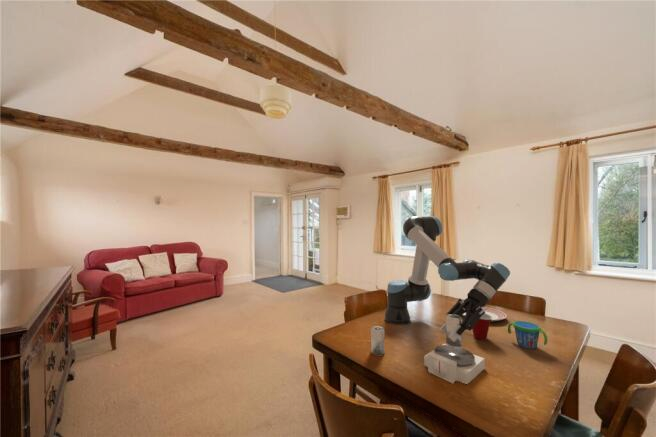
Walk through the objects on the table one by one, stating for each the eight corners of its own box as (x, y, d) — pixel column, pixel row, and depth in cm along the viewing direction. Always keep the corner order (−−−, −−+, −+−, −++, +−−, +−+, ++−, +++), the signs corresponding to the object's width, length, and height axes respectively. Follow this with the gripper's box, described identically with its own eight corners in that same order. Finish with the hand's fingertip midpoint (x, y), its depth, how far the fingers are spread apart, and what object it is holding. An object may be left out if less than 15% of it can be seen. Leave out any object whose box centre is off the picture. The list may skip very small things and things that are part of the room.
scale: (419, 368, 107) (419, 351, 107) (444, 352, 120) (443, 337, 120) (462, 388, 94) (462, 369, 94) (484, 368, 107) (484, 351, 107)
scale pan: (427, 354, 109) (427, 352, 109) (445, 343, 119) (445, 341, 119) (464, 370, 98) (464, 367, 98) (480, 357, 107) (480, 354, 107)
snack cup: (503, 341, 131) (503, 321, 131) (515, 337, 135) (515, 317, 135) (539, 355, 117) (539, 333, 117) (552, 350, 121) (551, 328, 121)
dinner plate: (446, 312, 172) (446, 307, 172) (475, 307, 183) (475, 302, 183) (486, 328, 147) (486, 322, 147) (517, 320, 158) (516, 315, 158)
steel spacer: (368, 352, 121) (368, 328, 121) (377, 348, 125) (376, 324, 125) (378, 357, 116) (378, 332, 116) (387, 352, 120) (386, 328, 120)
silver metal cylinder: (443, 343, 108) (442, 316, 109) (450, 338, 112) (449, 312, 112) (458, 348, 104) (457, 320, 104) (464, 343, 108) (464, 316, 108)
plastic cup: (496, 343, 129) (496, 318, 129) (472, 341, 131) (472, 317, 131) (487, 333, 140) (487, 311, 140) (465, 332, 142) (465, 310, 142)
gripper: (505, 307, 101) (467, 353, 99) (470, 293, 120) (438, 332, 117) (492, 294, 101) (454, 340, 98) (460, 282, 119) (427, 321, 117)
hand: (446, 335), depth 108 cm, fingers closed on silver metal cylinder, 6 cm apart
